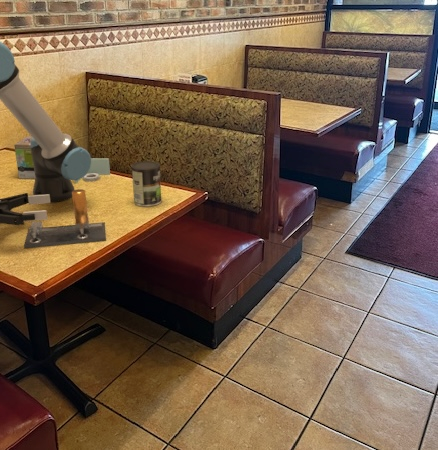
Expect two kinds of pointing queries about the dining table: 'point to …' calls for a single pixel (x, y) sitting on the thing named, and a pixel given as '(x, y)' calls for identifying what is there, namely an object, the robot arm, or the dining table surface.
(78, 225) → the sliding jaw
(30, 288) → the dining table surface
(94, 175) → the l-shaped corner panel
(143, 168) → the coffee can
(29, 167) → the tea box
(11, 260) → the dining table surface
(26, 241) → the plate
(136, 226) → the dining table surface
